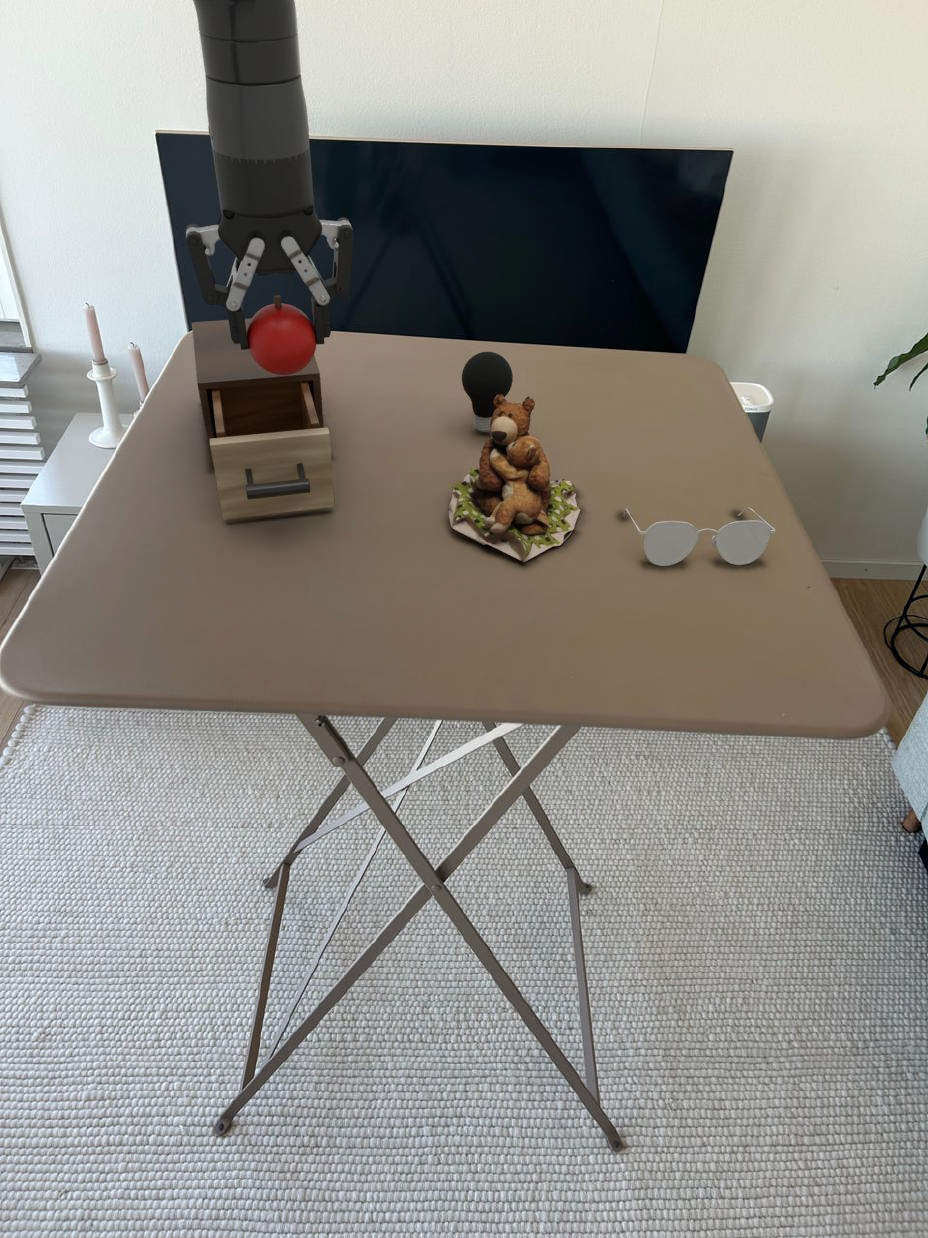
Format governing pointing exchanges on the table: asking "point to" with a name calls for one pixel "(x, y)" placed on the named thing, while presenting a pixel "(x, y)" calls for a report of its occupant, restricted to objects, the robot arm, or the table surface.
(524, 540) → the bear figurine
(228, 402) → the drawer
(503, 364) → the light bulb
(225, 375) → the cabinet
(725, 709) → the table surface
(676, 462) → the table surface
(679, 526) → the sunglasses
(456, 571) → the table surface
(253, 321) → the apple
